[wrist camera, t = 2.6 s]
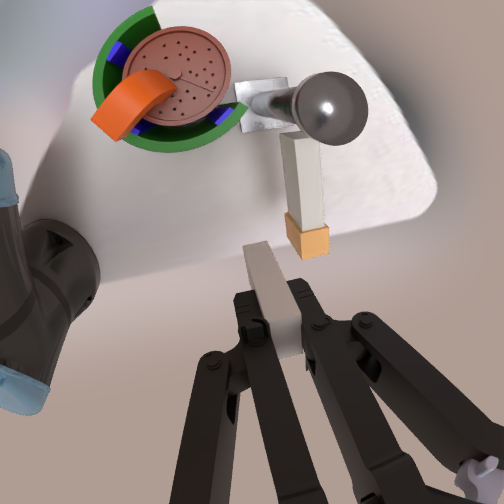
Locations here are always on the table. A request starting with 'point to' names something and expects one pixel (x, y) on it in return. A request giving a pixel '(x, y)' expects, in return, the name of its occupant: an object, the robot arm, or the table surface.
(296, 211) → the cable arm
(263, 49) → the table surface
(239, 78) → the table surface
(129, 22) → the motor
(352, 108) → the post
